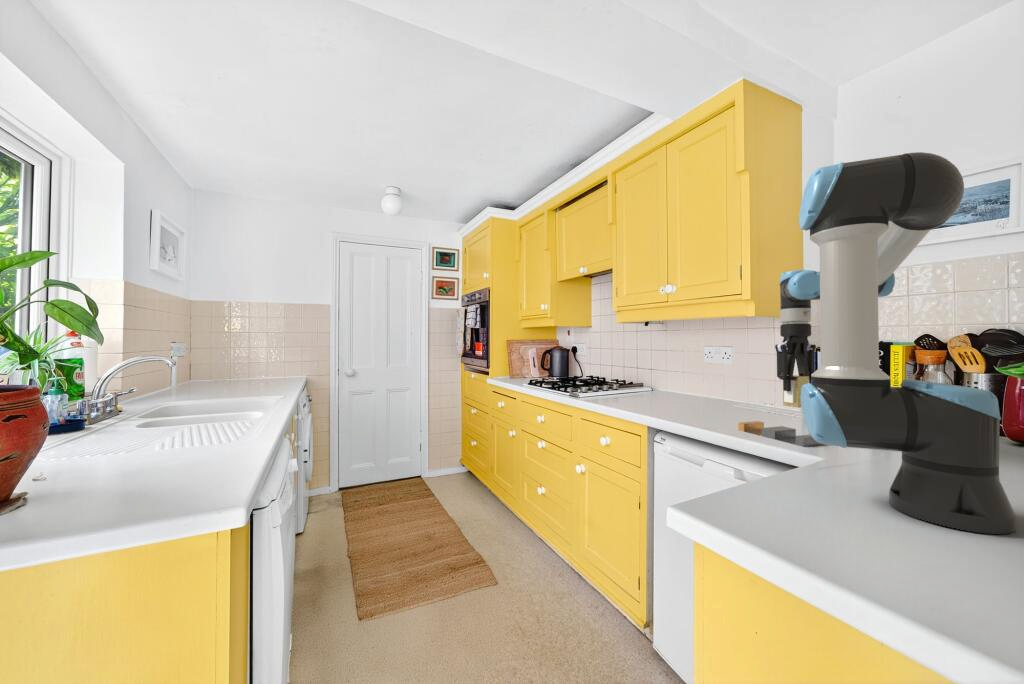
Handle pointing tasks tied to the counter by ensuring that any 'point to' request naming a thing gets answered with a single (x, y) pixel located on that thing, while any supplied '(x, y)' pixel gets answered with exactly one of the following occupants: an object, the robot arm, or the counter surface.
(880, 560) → the counter surface
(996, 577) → the counter surface
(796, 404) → the brass block
